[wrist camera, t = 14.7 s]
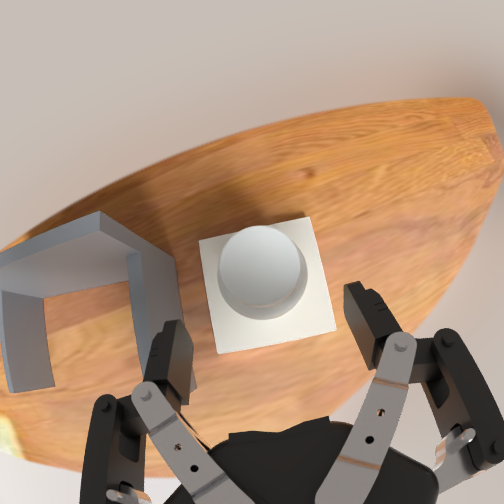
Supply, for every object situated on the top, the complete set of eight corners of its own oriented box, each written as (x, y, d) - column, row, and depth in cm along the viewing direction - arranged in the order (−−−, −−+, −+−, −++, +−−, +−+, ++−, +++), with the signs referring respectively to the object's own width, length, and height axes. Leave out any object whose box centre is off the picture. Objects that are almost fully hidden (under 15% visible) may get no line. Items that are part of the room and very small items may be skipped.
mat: (220, 352, 22) (217, 353, 21) (201, 243, 25) (198, 240, 24) (334, 329, 22) (336, 330, 21) (308, 220, 24) (309, 216, 23)
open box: (49, 385, 23) (-24, 395, 11) (37, 290, 26) (-35, 271, 14) (196, 388, 22) (130, 436, 10) (174, 258, 25) (100, 210, 13)
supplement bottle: (237, 322, 22) (206, 324, 13) (232, 259, 23) (201, 219, 14) (303, 315, 21) (320, 313, 12) (295, 252, 23) (305, 206, 14)
